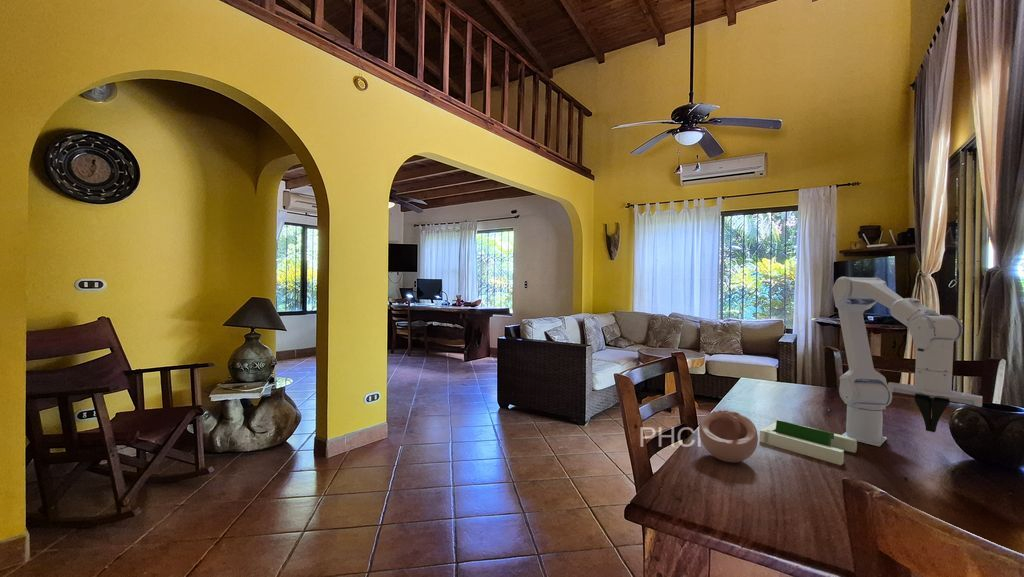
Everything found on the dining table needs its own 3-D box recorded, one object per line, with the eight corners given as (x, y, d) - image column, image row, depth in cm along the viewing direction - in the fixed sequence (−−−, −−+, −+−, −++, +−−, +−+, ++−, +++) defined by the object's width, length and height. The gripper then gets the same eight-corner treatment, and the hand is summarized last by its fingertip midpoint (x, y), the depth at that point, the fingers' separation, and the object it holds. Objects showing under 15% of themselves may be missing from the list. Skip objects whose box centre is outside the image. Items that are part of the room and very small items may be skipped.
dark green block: (821, 468, 103) (843, 438, 101) (815, 468, 99) (837, 437, 97) (774, 435, 112) (793, 407, 110) (766, 434, 108) (786, 406, 106)
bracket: (779, 430, 116) (779, 420, 116) (856, 450, 103) (857, 439, 103) (759, 441, 107) (759, 430, 107) (841, 465, 94) (841, 452, 94)
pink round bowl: (693, 461, 94) (695, 411, 94) (703, 445, 104) (704, 400, 103) (754, 477, 87) (756, 423, 87) (758, 458, 97) (760, 409, 97)
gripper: (885, 365, 94) (883, 424, 94) (982, 378, 83) (979, 445, 83) (892, 362, 99) (889, 419, 99) (984, 374, 87) (981, 437, 88)
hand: (930, 430), depth 91 cm, fingers closed
